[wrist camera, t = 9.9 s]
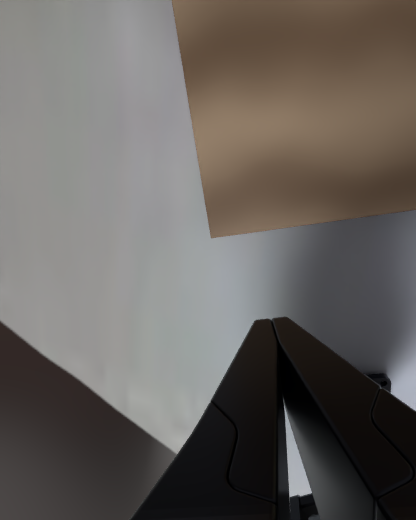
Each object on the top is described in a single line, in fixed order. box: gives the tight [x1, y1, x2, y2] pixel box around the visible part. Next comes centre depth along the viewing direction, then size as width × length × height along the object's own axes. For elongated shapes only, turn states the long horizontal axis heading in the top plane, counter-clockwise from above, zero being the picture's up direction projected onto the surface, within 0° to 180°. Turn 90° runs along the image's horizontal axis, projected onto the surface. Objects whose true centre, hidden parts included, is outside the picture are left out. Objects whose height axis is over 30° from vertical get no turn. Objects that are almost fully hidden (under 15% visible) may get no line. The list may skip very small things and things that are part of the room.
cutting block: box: [172, 0, 416, 238], centre depth 15 cm, size 15×13×2 cm
